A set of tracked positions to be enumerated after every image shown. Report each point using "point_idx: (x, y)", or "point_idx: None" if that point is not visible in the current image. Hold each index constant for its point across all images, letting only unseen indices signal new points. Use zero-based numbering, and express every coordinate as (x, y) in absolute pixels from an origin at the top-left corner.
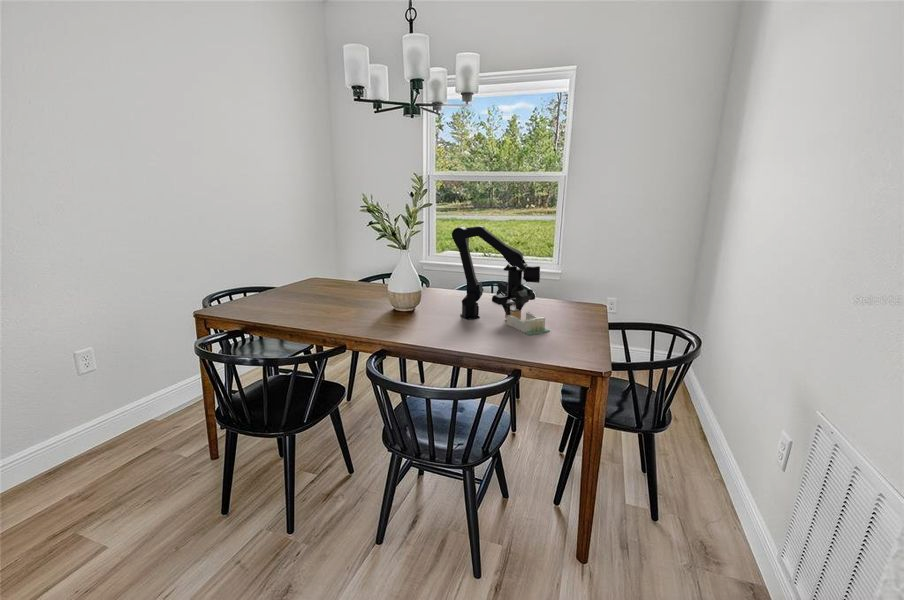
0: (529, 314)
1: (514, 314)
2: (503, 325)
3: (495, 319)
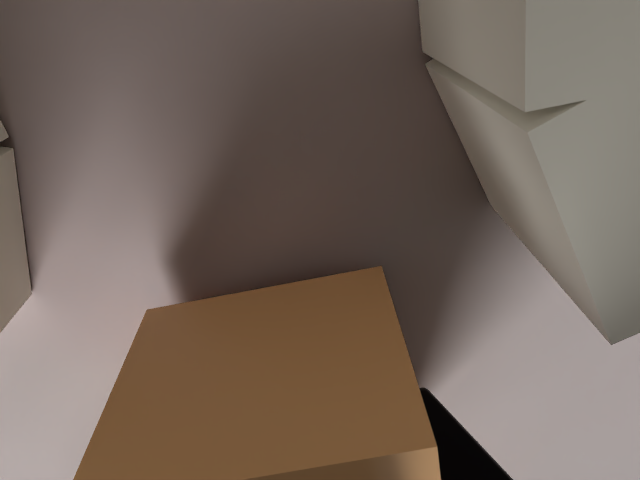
0: None
1: (334, 395)
2: None
3: (548, 453)
